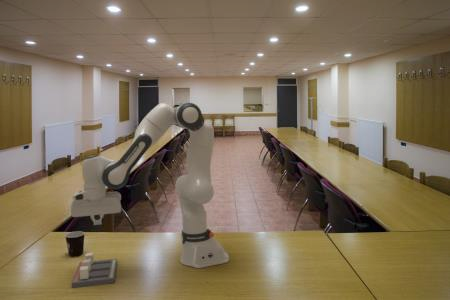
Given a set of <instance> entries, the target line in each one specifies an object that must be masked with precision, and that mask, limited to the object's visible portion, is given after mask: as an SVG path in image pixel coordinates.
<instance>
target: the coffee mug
mask: <svg viewBox="0 0 450 300" xmlns="http://www.w3.org/2000/svg"><path fill="white" fill-rule="evenodd" d="M64 236H65V241H66V247H67V252H68V256H69V257H70V258H76V257H77V258H78V257H80V256H82V255H83V254H84V248H85V232H84V231H83V230H82V231H80V230H78V231H71V232H68V233H66V234H65V235H64Z"/></svg>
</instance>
